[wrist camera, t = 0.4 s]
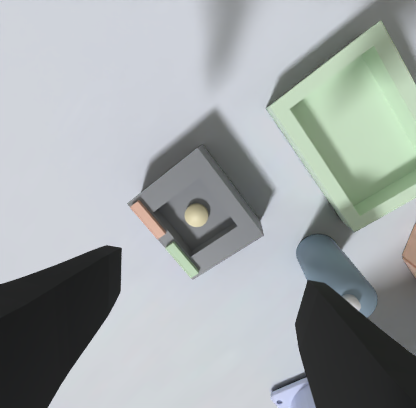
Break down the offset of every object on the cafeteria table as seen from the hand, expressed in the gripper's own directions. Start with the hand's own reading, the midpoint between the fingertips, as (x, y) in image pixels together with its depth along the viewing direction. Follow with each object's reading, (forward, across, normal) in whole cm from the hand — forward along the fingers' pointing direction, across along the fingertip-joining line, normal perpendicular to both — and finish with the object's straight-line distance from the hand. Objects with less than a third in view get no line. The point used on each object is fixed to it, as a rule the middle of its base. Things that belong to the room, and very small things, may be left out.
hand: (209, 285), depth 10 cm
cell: (+10, -8, +2) cm, 12 cm away
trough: (+10, -8, -6) cm, 14 cm away
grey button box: (+10, +2, 0) cm, 10 cm away
